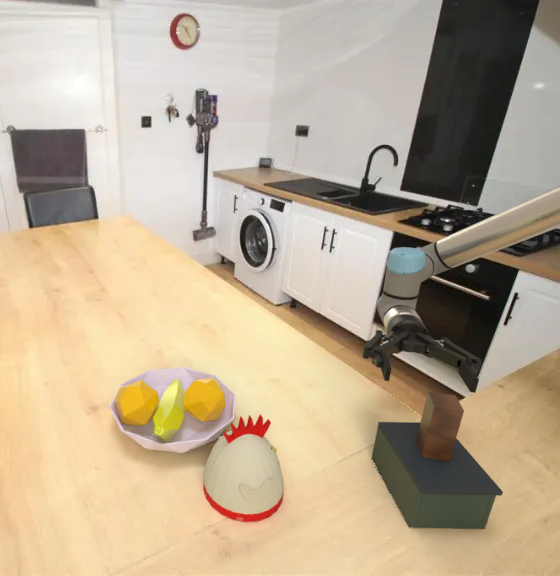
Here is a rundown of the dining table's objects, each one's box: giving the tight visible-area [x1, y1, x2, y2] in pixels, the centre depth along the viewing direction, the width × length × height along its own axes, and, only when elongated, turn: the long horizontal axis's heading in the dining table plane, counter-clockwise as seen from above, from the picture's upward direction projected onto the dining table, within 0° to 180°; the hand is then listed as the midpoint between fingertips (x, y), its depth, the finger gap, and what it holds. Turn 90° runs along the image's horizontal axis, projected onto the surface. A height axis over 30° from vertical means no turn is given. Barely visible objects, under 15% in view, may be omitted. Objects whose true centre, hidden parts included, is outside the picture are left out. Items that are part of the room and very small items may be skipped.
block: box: [416, 391, 465, 462], centre depth 66 cm, size 4×4×10 cm
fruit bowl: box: [108, 366, 236, 454], centre depth 86 cm, size 28×27×11 cm
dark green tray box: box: [371, 425, 497, 530], centre depth 70 cm, size 15×12×8 cm
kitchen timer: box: [203, 414, 285, 523], centre depth 70 cm, size 14×14×15 cm
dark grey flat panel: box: [377, 421, 504, 497], centre depth 68 cm, size 15×12×1 cm
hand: (430, 380), depth 72 cm, fingers open, 13 cm apart
